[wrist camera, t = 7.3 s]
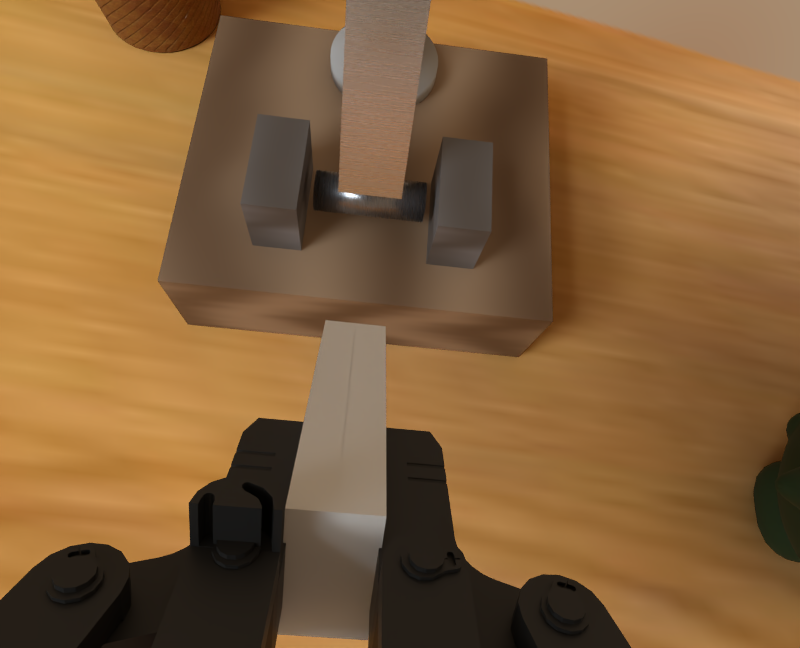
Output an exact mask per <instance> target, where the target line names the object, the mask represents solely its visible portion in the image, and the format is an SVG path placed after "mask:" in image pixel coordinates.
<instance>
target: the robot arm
mask: <svg viewBox="0 0 800 648" xmlns="http://www.w3.org/2000/svg"><path fill="white" fill-rule="evenodd" d="M189 521H190V545H189V546H188V547H186V548H184V549H182V550H180V551H178V552H175V553H173V554H170V555H166V556H163V557H159V558H154V559H148V560H143V561H138V562H132V563H129V562H128V561H127V559H126V558H125V556H124V555H123V553H122V552H121V551H119V550H117V549H115V548H113V547H111V546H110V545H106V544H96V543H86V544H81V545H75V546H70V547H67V548H65V549H63V550H60V551H58V552H56V553H53V554H51V555H49V556H48V557H47V558H45V559H44V560H43V561H41V562H40V563H39V564H37V565H36V566H35V567H33V568H32V569H31V570H30V571H29V572H28V573H27V574H26V575H25V576H24V577H23V578H22V579H21V580H20V581H19V582H18V583H17V584H16V585H15V586H14V587H13V588H12V589H11V590H10V591H9V592H8V593H7V594H6V595H5V596H4V597H3V598H2V599H1V600H0V648H275V645H276V639H277V634H280V635H296V636H312V637H327V638H343V639H359V640H368V635H369V643H368V648H631V646H630V645H629V643H628V642H627V640H626V639H625V637H624V636H623V634H622V633H621V631H620V630H619V628H618V626H617V625H616V623H615V622H614V620H613V619H612V617H611V616H610V614H609V613H608V611H607V610H606V608H605V607H604V605H603V604H602V603H601V602H600V600H599V599H598V598H597V597H596V596H595V595H594V594H593V593H592V591H590V590H589V589H587V588H586V587H584V586H583V585H581V584H580V583H578V582H577V581H575V580H572V579H569V578H566V577H563V576H560V575H544V574H543V575H540V576H537V577H534V578H531V579H529V580H528V581H527V582H526V584H525V585H524V586H523V587H522V588H521V589H519V588H517V587H514V586H511V585H508V584H505V583H502V582H500V581H497V580H494V579H492V578H490V577H488V576H486V575H483V574H482V573H480V572H479V571H478V570H476V569H475V568H473V567H472V566H471V565H470V564H469V563H468V562H467V561H466V560H465V557H464V555H463V553H462V551H461V550H460V549H459V548H458V547H457V545H456V541H455V537H454V530H453V523H452V516H451V509H450V502H449V495H448V488H447V484H446V474H445V469H444V460H443V453H442V448H441V446H440V445H439V443H438V442H437V441H436V439H435V438H434V437H433V435H432V434H431V433H430V432H427V431H416V430H405V429H394V428H386V326H378V325H368V324H358V323H349V322H339V321H329V320H325V325H324V330H323V334H322V339H321V344H320V348H319V353H318V358H317V362H316V367H315V372H314V376H313V381H312V385H311V390H310V395H309V399H308V404H307V409H306V413H305V418H304V422H298V421H287V420H276V419H265V418H258V419H257V420H256V421H255V422H254V423H253V424H252V425H250V426H249V427H248V428H247V429H246V430H245V431H244V432H243V434H242V436H241V439H240V442H239V445H238V447H237V451H236V453H235V455H234V458H233V461H232V464H231V468H230V469H229V472H228V475H227V477H226V478H223V479H220V480H217V481H213V482H211V483H209V484H208V485H206V486H205V487H203V488H202V489H200V490H199V491H197V493H196V494H195V495H194V497H193V498H192V499H191V501H190V502H189Z"/></svg>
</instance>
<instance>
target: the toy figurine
mask: <svg viewBox="0 0 800 648" xmlns="http://www.w3.org/2000/svg"><path fill="white" fill-rule="evenodd" d="M786 431H787V436H788V443H787V445H786V448H785V451H784V454H783V457H782V461H779V462H775V463H772V464H770V465H768V466H766V467H764V469H763V470H762V471H761V472H760V473H759V475H758V476H757V477H756V482H755V487H754V503H755V511H756V517H757V523H758V527H759V529H760V531H761V533H762V536H763V538H764V540H765V542H766V543H767V544H768V545H769V546H770V547H771V548H772V549H773V550H774V552H775V553H777V554H778V555H780V556H782V557H784V558H785V559H788V560H791V561H795V562H800V413H798V414H796V415H794V416H793V417H792V418H791V419H790V421H789V422H788V424H787V429H786Z"/></svg>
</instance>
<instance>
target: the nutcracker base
mask: <svg viewBox="0 0 800 648" xmlns="http://www.w3.org/2000/svg"><path fill="white" fill-rule="evenodd" d="M344 46H345V27H344V28H342V29H341V30H340V31H335V30H328V29H320V28H313V27H305V26H298V25H290V24H283V23H275V22H268V21H260V20H253V19H245V18H237V17H230V16H222V15H221V16H220V20H219V24H218V29H217V33H216V37H215V41H214V46H213V50H212V54H211V58H210V62H209V67H208V71H207V75H206V79H205V83H204V88H203V92H202V96H201V100H200V104H199V109H198V113H197V117H196V121H195V125H194V130H193V134H192V138H191V142H190V147H189V151H188V155H187V159H186V163H185V168H184V172H183V176H182V180H181V184H180V189H179V193H178V197H177V201H176V205H175V210H174V214H173V218H172V222H171V227H170V231H169V235H168V239H167V243H166V248H165V252H164V256H163V260H162V264H161V269H160V273H159V277H158V282H159V283H160V285H161V286H162V288H163V289H164V291H165V292H166V294H167V295H168V296H169V298H170V299H171V301H172V302H173V304H174V305H175V307H176V308H177V309H178V311H179V312H180V314H181V315H182V317H183V318H184V319H185V321H186V322H187V324H189V325H200V326H210V327H220V328H230V329H240V330H250V331H260V332H271V333H281V334H291V335H301V336H311V337H321V338H322V334H323V330H324V325H325V320H329V321H339V322H349V323H358V324H368V325H378V326H386V344H392V345H402V346H412V347H423V348H433V349H443V350H453V351H463V352H473V353H483V354H494V355H504V356H514V357H519V356H520V355H521V354H522V353H523V352H524V351H525V350H526V349H527V348H528V347H529V346H530V345H531V343H532V342H533V341H534V340H535V339H536V338H537V337H538V336H539V335H540V334H541V333H542V332H543V331H544V330H545V329H546V328H547V327H548V326H549V325H550V324H551V323H552V322H553V307H552V260H551V214H550V167H549V121H548V74H547V59H546V58H538V57H531V56H523V55H516V54H508V53H501V52H493V51H486V50H478V49H471V48H463V47H456V46H448V45H441V44H433V42H432V41H431V39H430V38H429V37H428V36H427V34H426V36H425V43H424V50H423V57H422V63H421V70H420V77H419V84H418V91H417V97H416V104H415V111H414V118H413V125H412V131H411V138H410V145H409V152H408V159H407V165H406V172H405V179H404V180H409V181H418V182H426V183H427V196H426V205H425V212H424V218H423V221H422V222H414V221H405V220H396V219H387V218H378V217H369V216H360V215H351V214H343V213H334V212H325V211H316V210H313V192H314V182H315V175H316V171H317V170H324V171H333V172H339V164H340V140H341V116H342V93H343V69H344Z"/></svg>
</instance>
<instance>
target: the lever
mask: <svg viewBox="0 0 800 648" xmlns="http://www.w3.org/2000/svg"><path fill="white" fill-rule="evenodd" d="M430 2H431V0H346V22H345V46H344V69H343V93H342V116H341V140H340V164H339V172H333V171H324V170H317V171H316V175H315V182H314V192H313V210H316V211H325V212H334V213H343V214H351V215H360V216H369V217H378V218H387V219H396V220H405V221H414V222H422V221H423V218H424V212H425V205H426V196H427V183H426V182H418V181H409V180H404V179H405V172H406V165H407V159H408V152H409V145H410V138H411V131H412V125H413V118H414V111H415V104H416V97H417V91H418V84H419V77H420V70H421V63H422V57H423V50H424V43H425V36H426V29H427V23H428V16H429V9H430Z"/></svg>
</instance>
